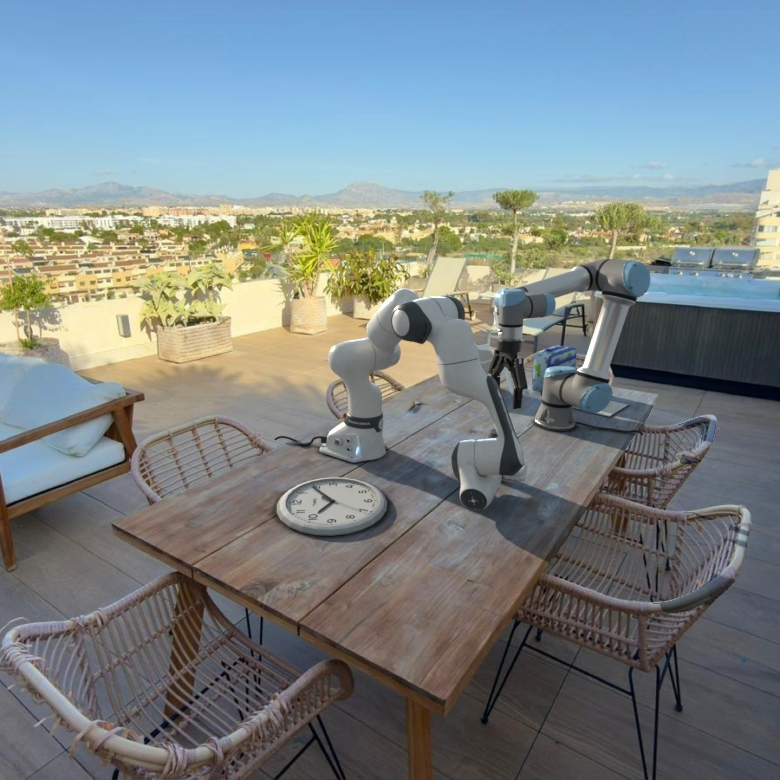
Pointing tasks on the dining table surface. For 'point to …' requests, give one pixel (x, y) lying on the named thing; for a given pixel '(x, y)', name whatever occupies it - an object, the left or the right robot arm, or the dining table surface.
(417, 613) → the dining table surface
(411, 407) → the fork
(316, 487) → the wall clock
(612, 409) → the invitation card
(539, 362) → the lunch box
